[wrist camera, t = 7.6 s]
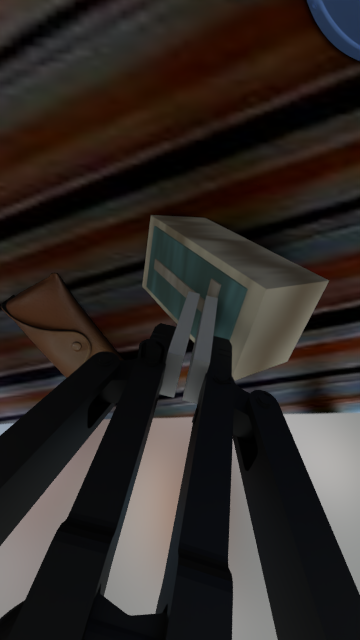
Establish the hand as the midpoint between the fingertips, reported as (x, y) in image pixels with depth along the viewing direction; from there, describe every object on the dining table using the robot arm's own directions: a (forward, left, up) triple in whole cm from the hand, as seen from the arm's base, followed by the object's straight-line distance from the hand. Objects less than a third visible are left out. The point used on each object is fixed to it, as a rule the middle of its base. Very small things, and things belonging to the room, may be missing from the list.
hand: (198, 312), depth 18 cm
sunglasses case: (-14, -15, -13) cm, 25 cm away
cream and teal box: (-3, 0, -11) cm, 11 cm away
